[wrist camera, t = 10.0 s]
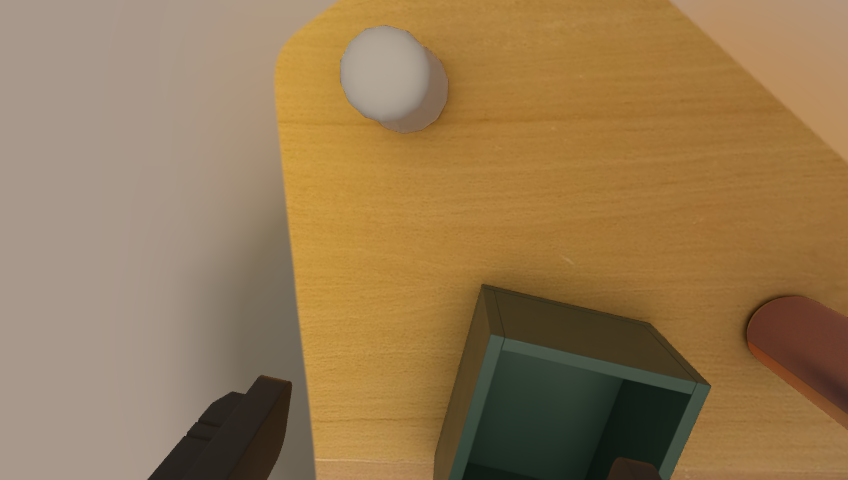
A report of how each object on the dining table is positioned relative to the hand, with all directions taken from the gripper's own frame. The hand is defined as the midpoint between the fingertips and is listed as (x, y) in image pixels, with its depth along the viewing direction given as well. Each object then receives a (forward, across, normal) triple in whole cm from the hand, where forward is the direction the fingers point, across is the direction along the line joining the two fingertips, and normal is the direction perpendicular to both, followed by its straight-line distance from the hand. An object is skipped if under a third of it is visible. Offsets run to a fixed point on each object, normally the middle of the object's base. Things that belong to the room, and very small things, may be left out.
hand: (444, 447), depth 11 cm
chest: (+25, -10, +13) cm, 30 cm away
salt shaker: (+25, +5, -8) cm, 27 cm away
